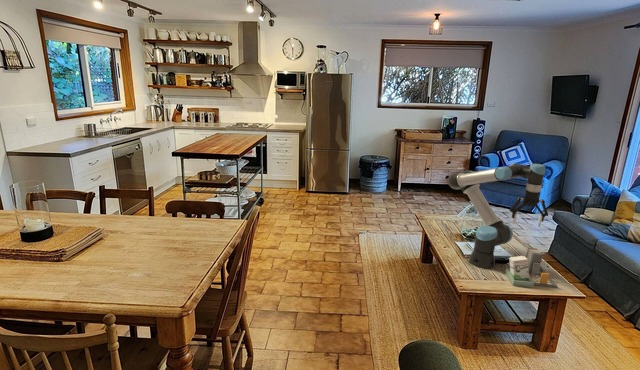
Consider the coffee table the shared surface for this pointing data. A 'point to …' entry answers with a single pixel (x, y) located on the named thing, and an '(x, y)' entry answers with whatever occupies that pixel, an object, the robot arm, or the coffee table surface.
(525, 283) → the tray
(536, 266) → the grey rectangular frame
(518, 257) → the ink box
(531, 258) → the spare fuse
